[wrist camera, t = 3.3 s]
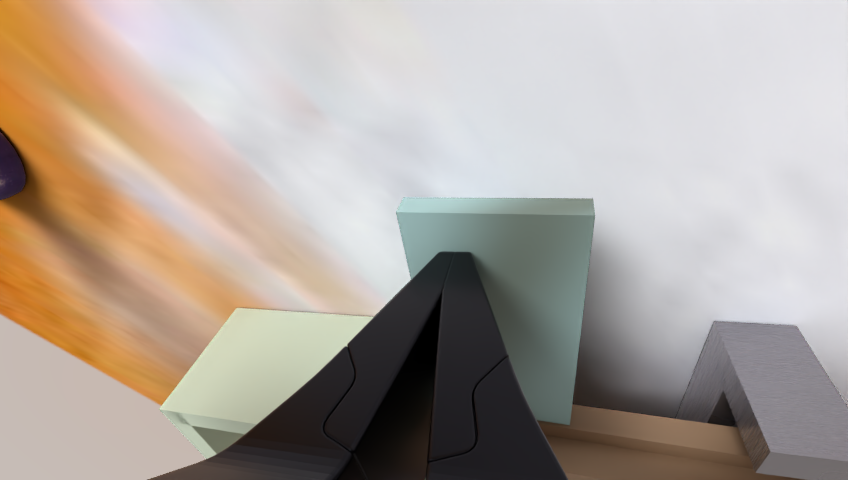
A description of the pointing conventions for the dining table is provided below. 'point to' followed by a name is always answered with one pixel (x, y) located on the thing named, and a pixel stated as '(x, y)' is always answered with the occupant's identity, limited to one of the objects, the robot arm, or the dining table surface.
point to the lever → (562, 336)
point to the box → (253, 371)
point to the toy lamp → (10, 170)
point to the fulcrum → (771, 400)
